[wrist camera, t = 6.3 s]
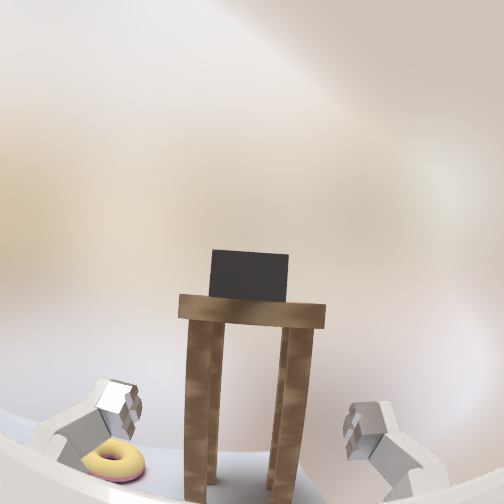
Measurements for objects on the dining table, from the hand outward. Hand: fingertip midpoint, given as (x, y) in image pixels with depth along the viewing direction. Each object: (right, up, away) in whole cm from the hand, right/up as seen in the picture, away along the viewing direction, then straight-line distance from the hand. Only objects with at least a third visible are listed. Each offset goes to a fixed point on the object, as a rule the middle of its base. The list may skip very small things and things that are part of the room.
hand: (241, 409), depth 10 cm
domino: (0, +2, +17) cm, 18 cm away
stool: (-1, -25, +18) cm, 30 cm away
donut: (-19, -24, +21) cm, 38 cm away
